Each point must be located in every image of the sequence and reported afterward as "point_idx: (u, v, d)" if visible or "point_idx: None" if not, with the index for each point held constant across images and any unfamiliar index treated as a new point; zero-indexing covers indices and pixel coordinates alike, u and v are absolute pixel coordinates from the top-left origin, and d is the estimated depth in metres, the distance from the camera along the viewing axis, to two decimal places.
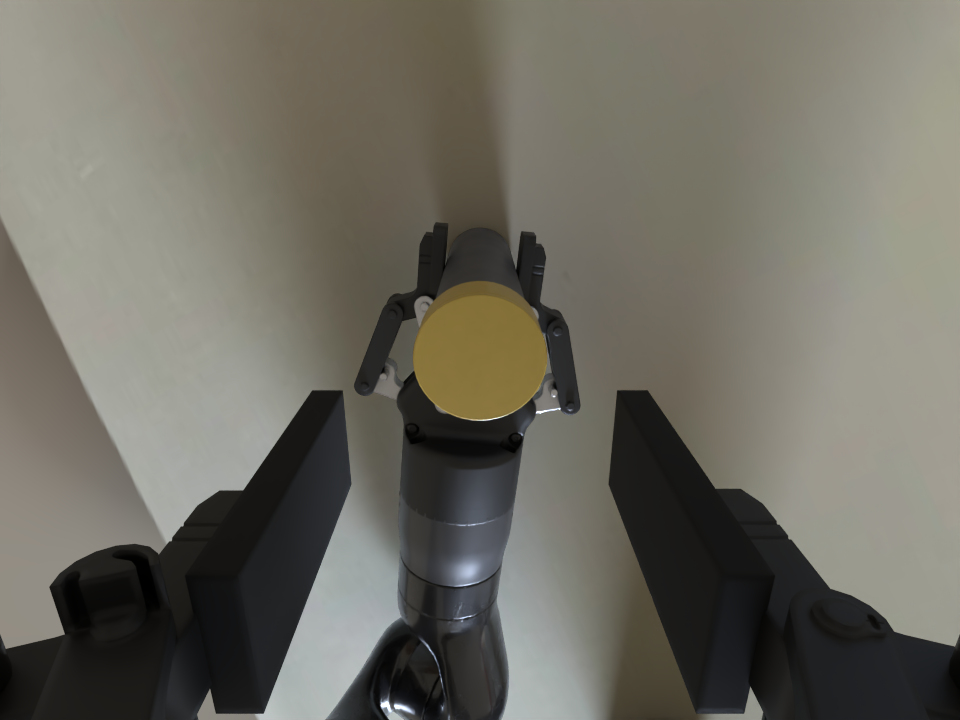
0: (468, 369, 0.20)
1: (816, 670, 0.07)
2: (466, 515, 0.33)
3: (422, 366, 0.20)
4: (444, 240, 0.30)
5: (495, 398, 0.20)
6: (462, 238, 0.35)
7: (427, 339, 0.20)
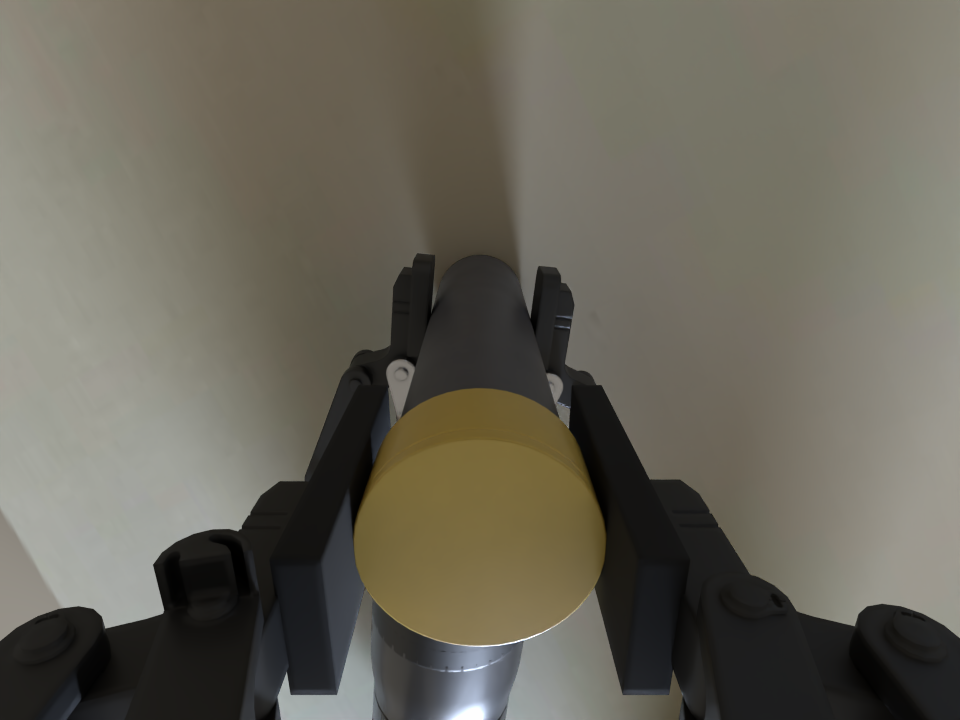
0: (458, 565, 0.11)
1: (724, 652, 0.07)
2: (461, 659, 0.24)
3: (371, 560, 0.11)
4: (428, 281, 0.21)
5: (508, 612, 0.11)
6: (455, 272, 0.25)
7: (379, 515, 0.10)
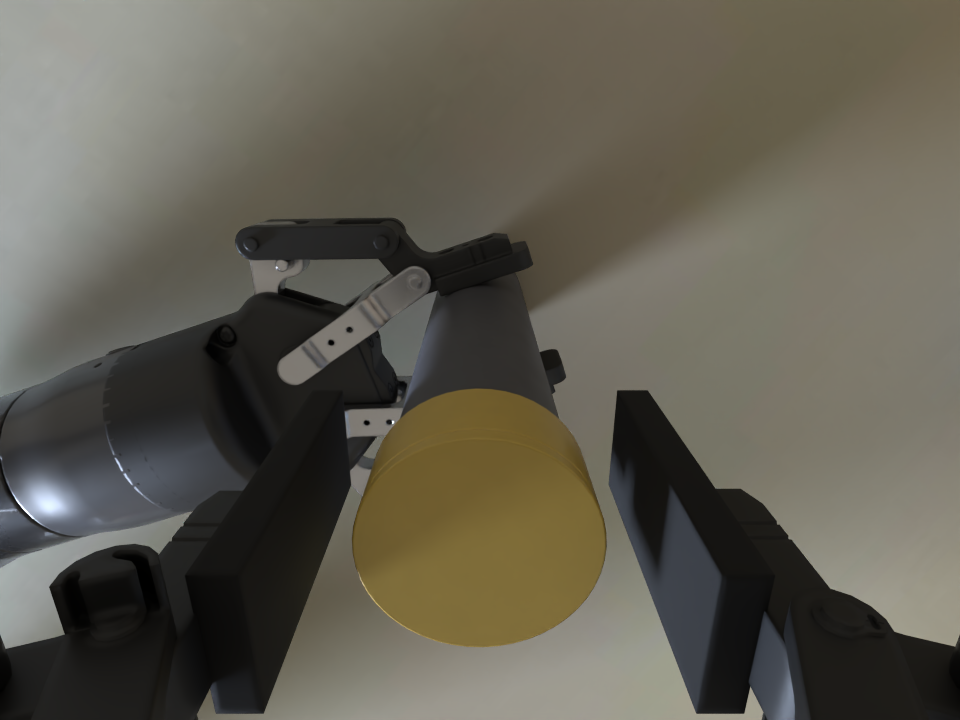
0: (473, 573, 0.11)
1: (816, 670, 0.07)
2: (148, 479, 0.21)
3: (403, 611, 0.11)
4: (515, 270, 0.21)
5: (549, 586, 0.11)
6: None
7: (377, 572, 0.11)
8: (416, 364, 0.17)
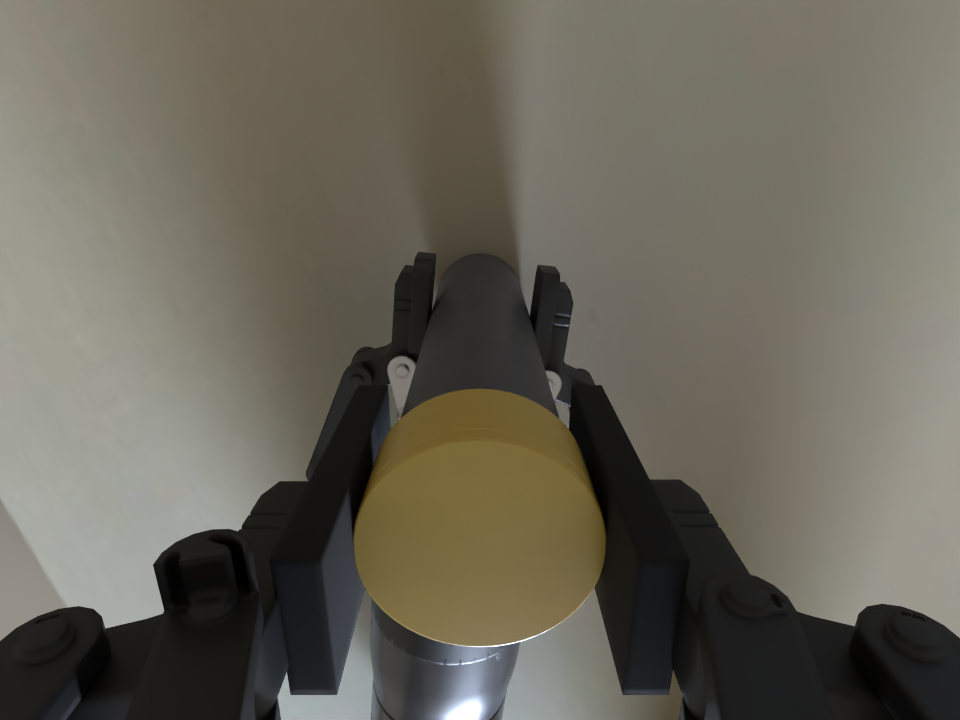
0: (502, 564, 0.11)
1: (724, 653, 0.07)
2: (459, 652, 0.24)
3: (514, 631, 0.11)
4: (429, 279, 0.21)
5: (551, 511, 0.10)
6: (456, 270, 0.26)
7: (462, 632, 0.11)
8: None
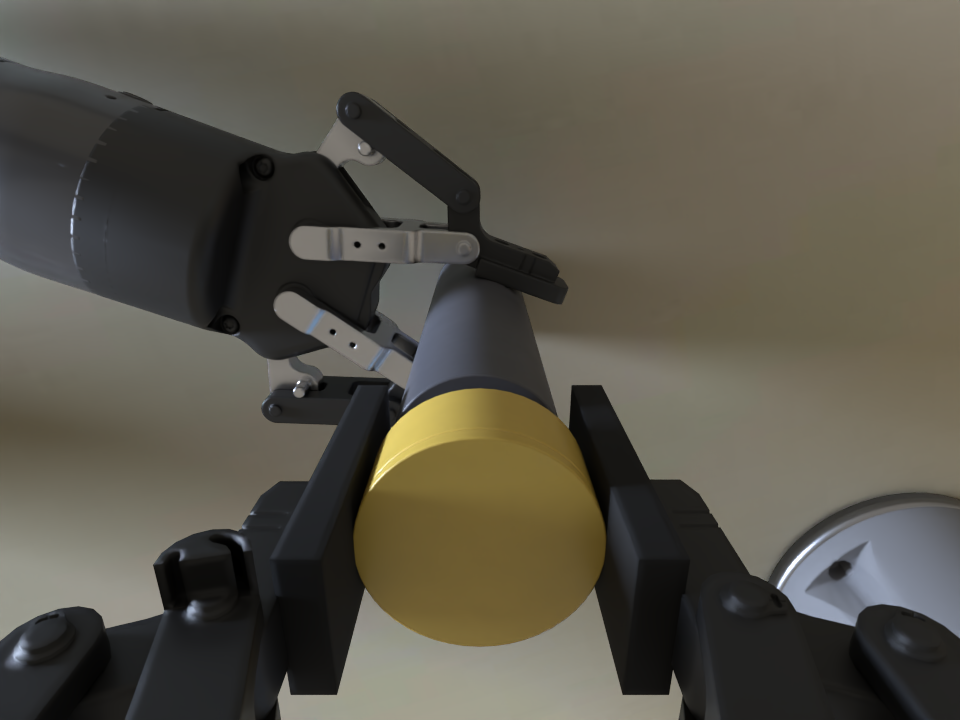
0: (502, 564, 0.11)
1: (724, 652, 0.07)
2: (93, 240, 0.19)
3: (514, 631, 0.11)
4: (547, 299, 0.22)
5: (551, 511, 0.10)
6: None
7: (462, 631, 0.11)
8: (445, 323, 0.17)
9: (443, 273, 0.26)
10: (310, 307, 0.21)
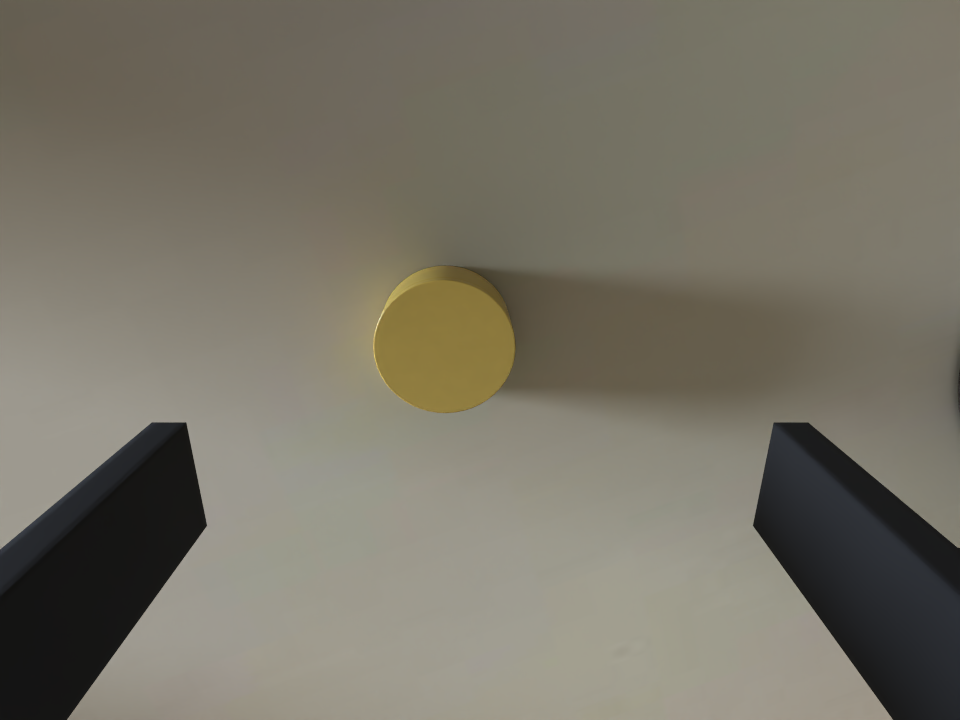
0: (457, 358, 0.19)
1: None
2: None
3: (466, 401, 0.20)
4: None
5: (483, 324, 0.19)
6: None
7: (436, 402, 0.20)
8: None
9: None
10: None
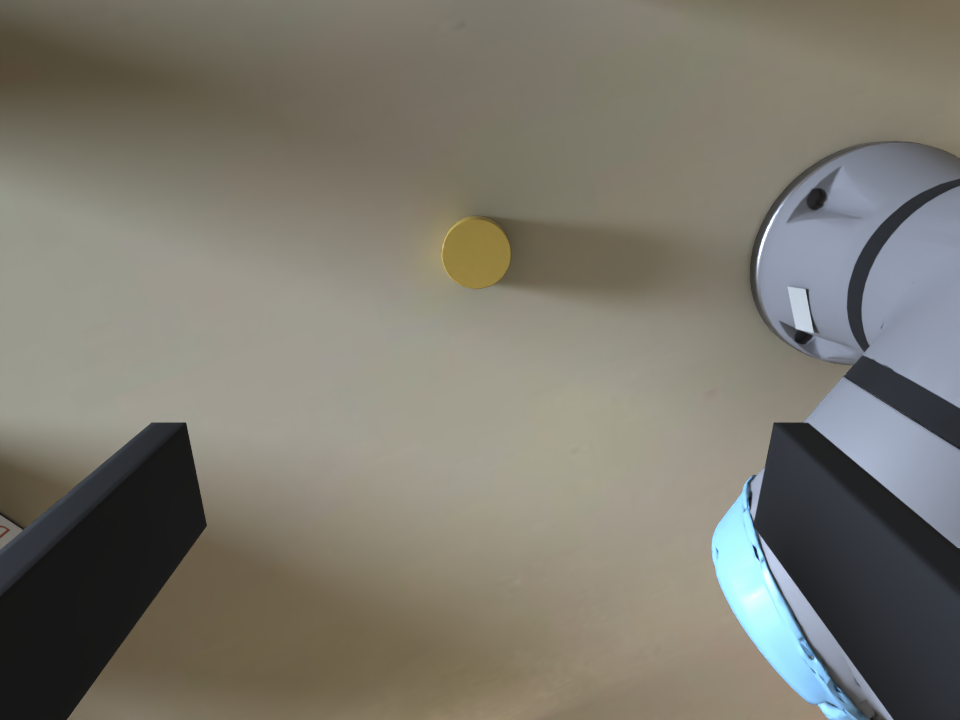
0: (482, 259, 0.39)
1: None
2: None
3: (486, 282, 0.39)
4: None
5: (495, 241, 0.38)
6: None
7: (471, 283, 0.39)
8: None
9: None
10: None
